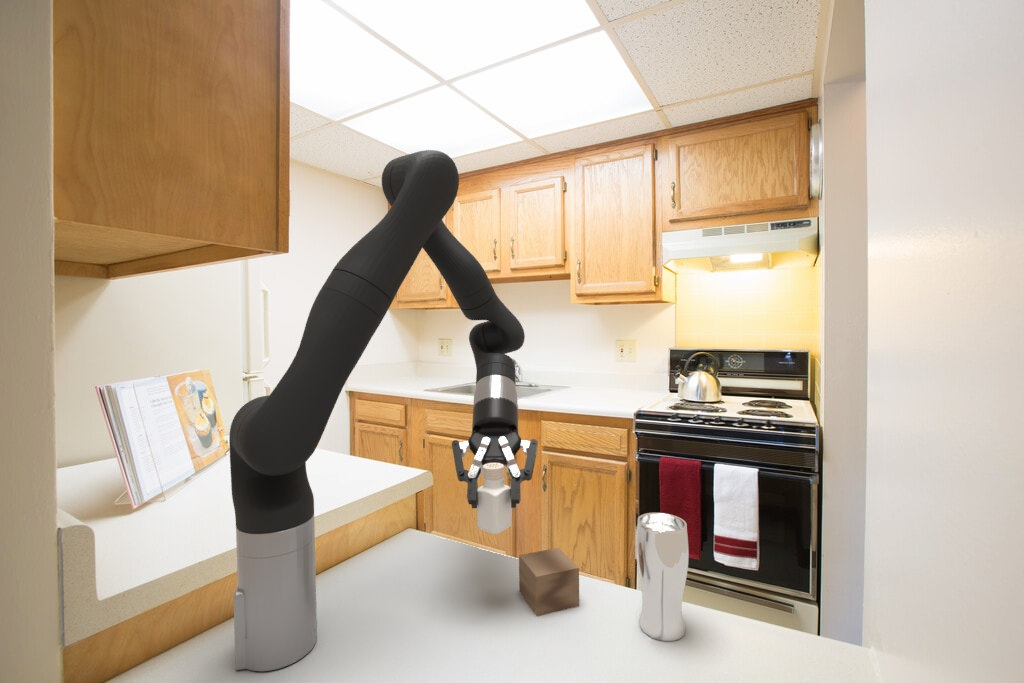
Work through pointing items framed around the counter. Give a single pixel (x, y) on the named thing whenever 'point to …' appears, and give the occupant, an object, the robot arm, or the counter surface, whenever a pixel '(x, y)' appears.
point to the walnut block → (548, 581)
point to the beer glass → (662, 574)
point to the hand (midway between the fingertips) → (494, 505)
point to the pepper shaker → (494, 500)
